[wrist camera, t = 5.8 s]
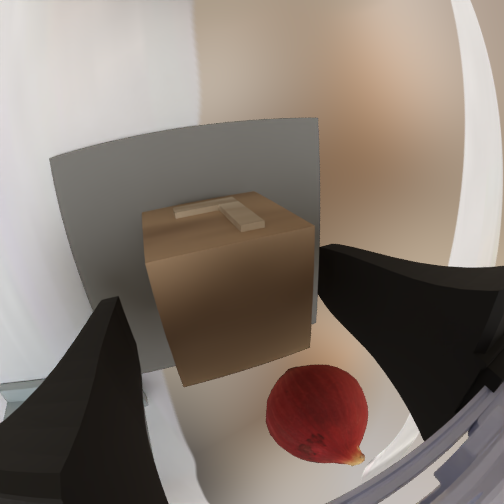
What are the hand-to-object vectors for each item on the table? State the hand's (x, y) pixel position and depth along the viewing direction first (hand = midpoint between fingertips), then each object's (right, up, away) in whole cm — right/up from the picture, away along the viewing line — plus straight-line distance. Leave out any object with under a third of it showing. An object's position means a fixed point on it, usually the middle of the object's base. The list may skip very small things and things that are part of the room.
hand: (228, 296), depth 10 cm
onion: (+3, -6, +8) cm, 11 cm away
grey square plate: (-1, +1, +3) cm, 3 cm away
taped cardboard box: (-1, +1, +2) cm, 3 cm away
